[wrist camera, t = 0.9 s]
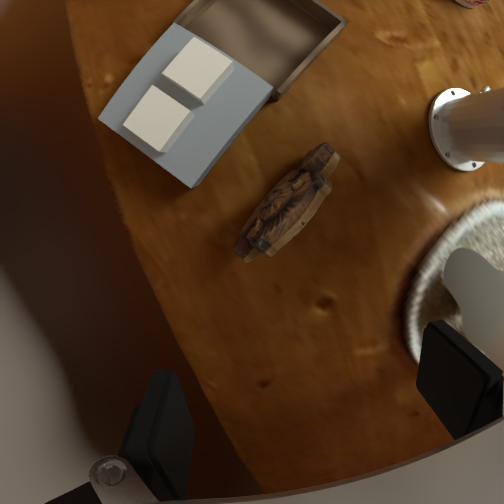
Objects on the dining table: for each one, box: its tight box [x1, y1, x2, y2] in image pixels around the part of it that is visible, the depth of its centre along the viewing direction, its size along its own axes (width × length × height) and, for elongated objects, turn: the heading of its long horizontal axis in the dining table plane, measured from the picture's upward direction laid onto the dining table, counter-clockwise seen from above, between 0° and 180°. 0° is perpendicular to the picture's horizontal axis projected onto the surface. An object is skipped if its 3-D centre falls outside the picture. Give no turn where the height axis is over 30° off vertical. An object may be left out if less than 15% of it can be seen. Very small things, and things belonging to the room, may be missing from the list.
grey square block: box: [98, 23, 273, 188], centre depth 33 cm, size 14×14×6 cm
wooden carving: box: [233, 142, 341, 263], centre depth 35 cm, size 16×5×10 cm, turn 144°
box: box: [172, 0, 348, 101], centre depth 31 cm, size 13×16×4 cm
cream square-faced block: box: [162, 37, 234, 104], centre depth 28 cm, size 5×5×3 cm
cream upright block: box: [123, 85, 195, 153], centre depth 30 cm, size 5×5×3 cm
